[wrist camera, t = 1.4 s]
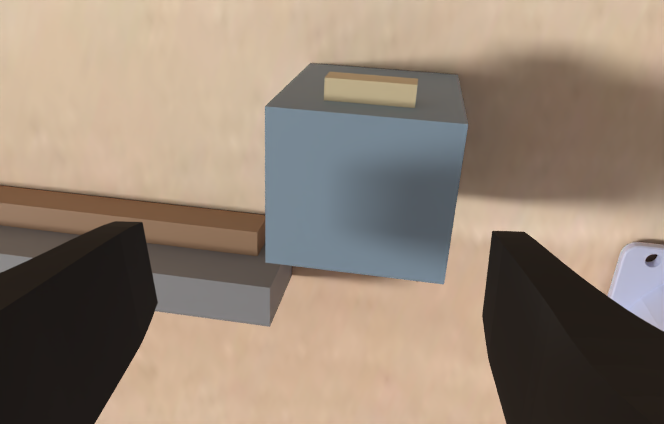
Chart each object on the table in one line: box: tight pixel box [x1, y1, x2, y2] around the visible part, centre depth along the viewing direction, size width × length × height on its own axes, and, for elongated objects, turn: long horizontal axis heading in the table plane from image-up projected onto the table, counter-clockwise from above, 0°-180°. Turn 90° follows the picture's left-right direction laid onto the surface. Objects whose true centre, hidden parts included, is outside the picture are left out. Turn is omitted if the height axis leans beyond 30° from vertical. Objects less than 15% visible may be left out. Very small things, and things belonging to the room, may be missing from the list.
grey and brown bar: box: [0, 186, 292, 327], centre depth 22 cm, size 20×3×4 cm, turn 87°
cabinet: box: [265, 63, 468, 284], centre depth 18 cm, size 5×5×6 cm
